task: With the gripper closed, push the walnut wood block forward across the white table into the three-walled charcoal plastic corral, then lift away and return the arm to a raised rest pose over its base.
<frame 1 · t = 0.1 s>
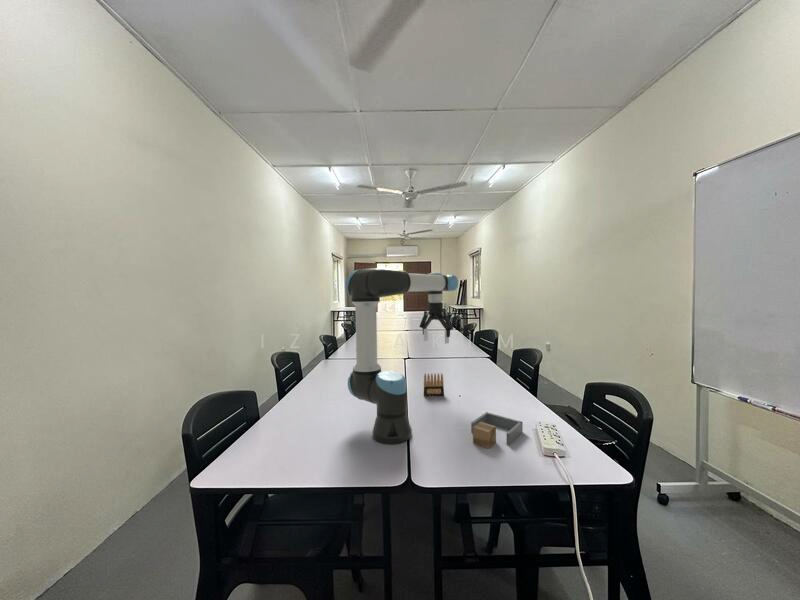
hand: (436, 342, 162), 28 cm above the table, fingers open, 13 cm apart
block: (484, 443, 110), on the table
corral: (496, 432, 118), on the table
ammunition clip: (433, 396, 161), on the table
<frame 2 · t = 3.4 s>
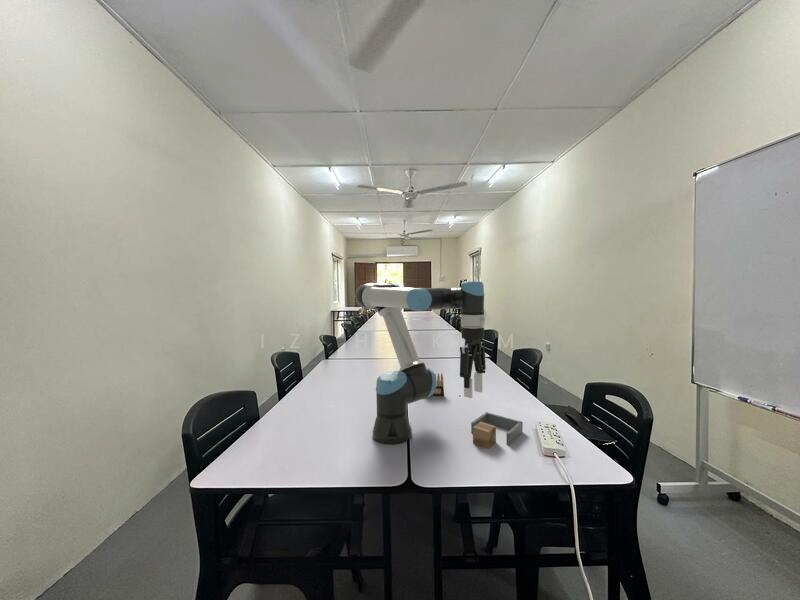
hand: (473, 394, 104), 20 cm above the table, fingers open, 6 cm apart
nothing on the table moved.
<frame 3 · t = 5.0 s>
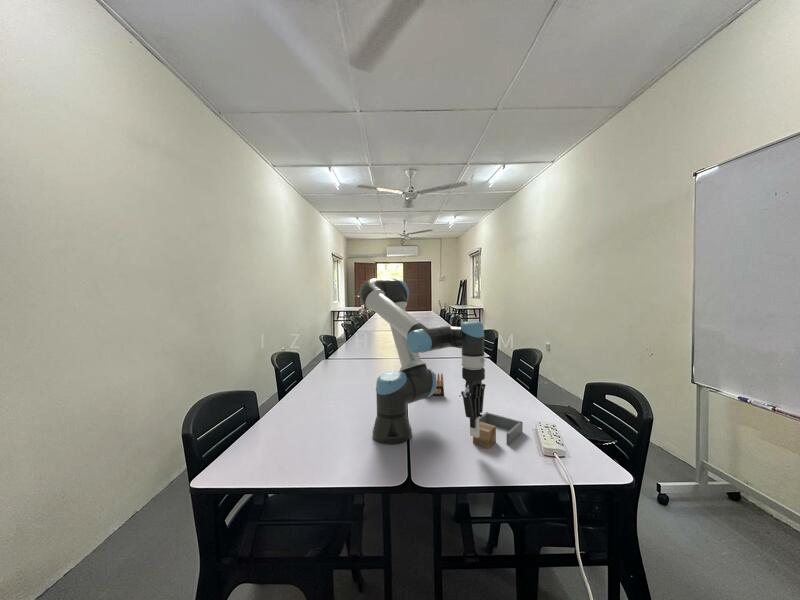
hand: (474, 435, 104), 6 cm above the table, fingers closed
nothing on the table moved.
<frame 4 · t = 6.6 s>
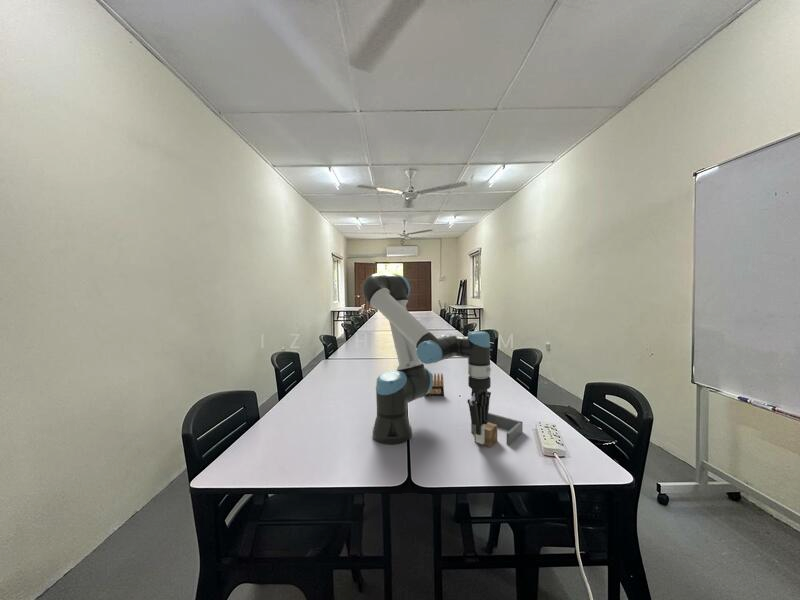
hand: (480, 442, 107), 2 cm above the table, fingers closed
block: (486, 441, 111), on the table, touching gripper
everything else where it was.
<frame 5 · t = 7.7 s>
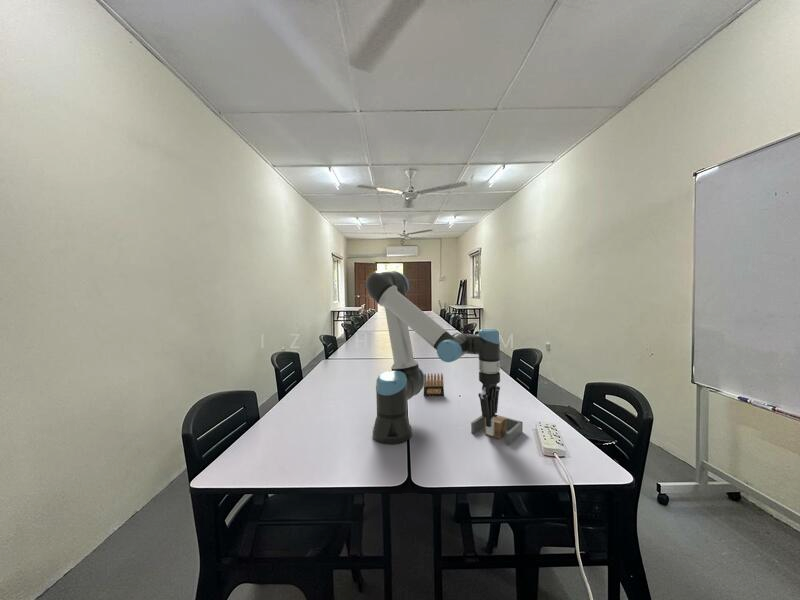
hand: (490, 434, 113), 2 cm above the table, fingers closed
block: (495, 433, 117), on the table, touching gripper
everything else where it was.
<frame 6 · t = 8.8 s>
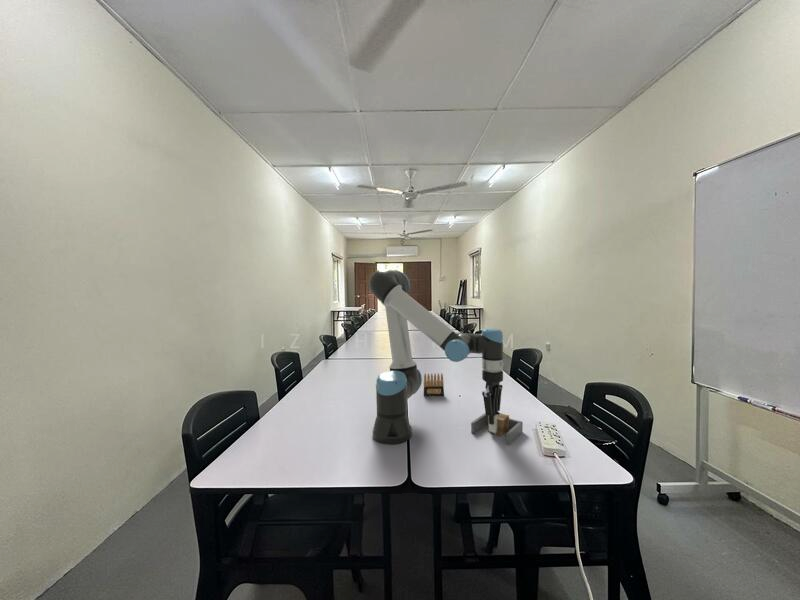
hand: (492, 431, 115), 2 cm above the table, fingers closed
block: (498, 430, 119), on the table, touching gripper
everything else where it was.
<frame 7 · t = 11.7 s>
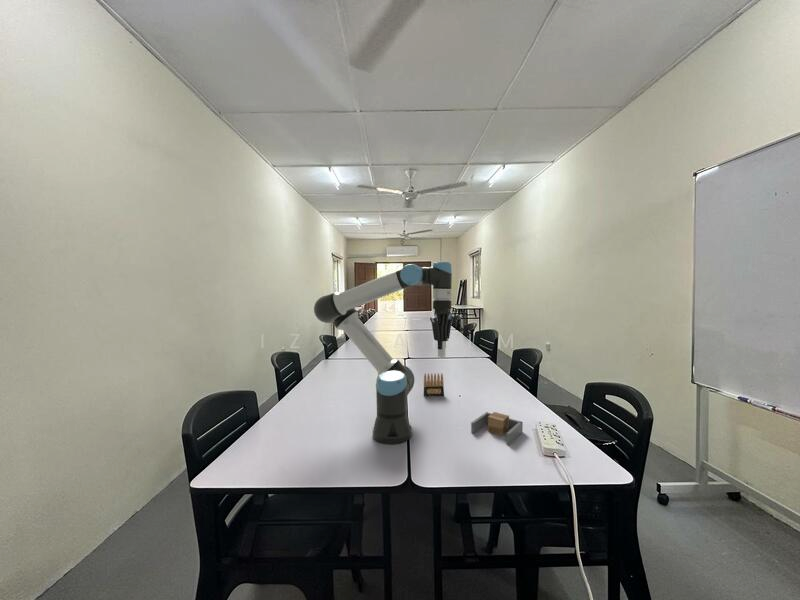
hand: (441, 356, 126), 28 cm above the table, fingers closed
block: (498, 431, 119), on the table
everything else where it was.
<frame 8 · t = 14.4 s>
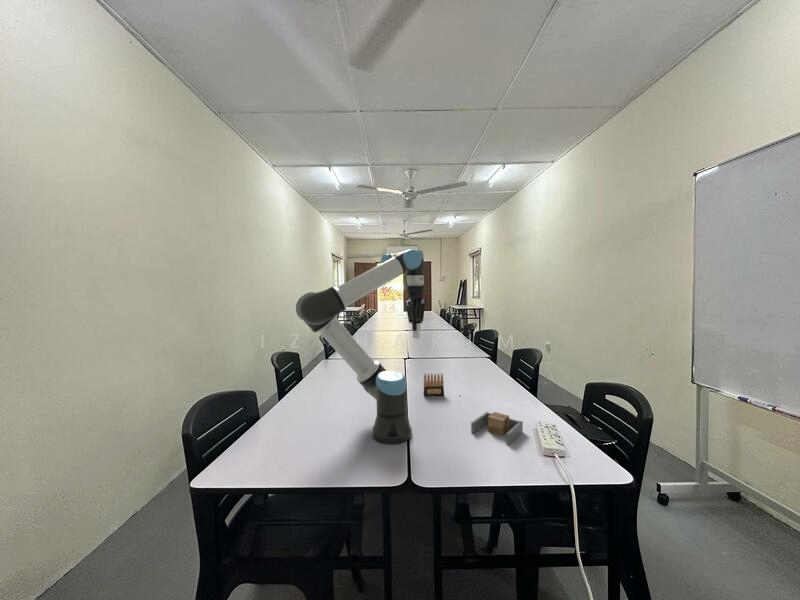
hand: (416, 337, 136), 34 cm above the table, fingers closed
nothing on the table moved.
at the end: block inside the target area (2.1 cm from its centre), on the table; block tilted 0° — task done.
